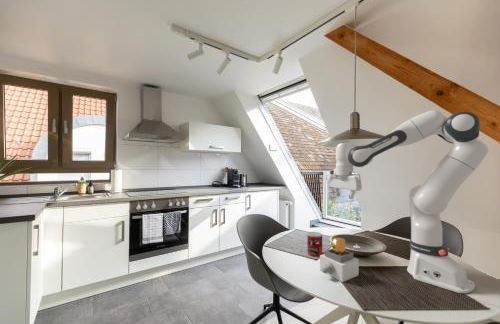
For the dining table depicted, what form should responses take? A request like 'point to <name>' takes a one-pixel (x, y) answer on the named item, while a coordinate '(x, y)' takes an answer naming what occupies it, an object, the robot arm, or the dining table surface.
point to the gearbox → (339, 265)
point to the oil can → (338, 246)
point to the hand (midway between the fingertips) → (344, 197)
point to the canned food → (314, 243)
